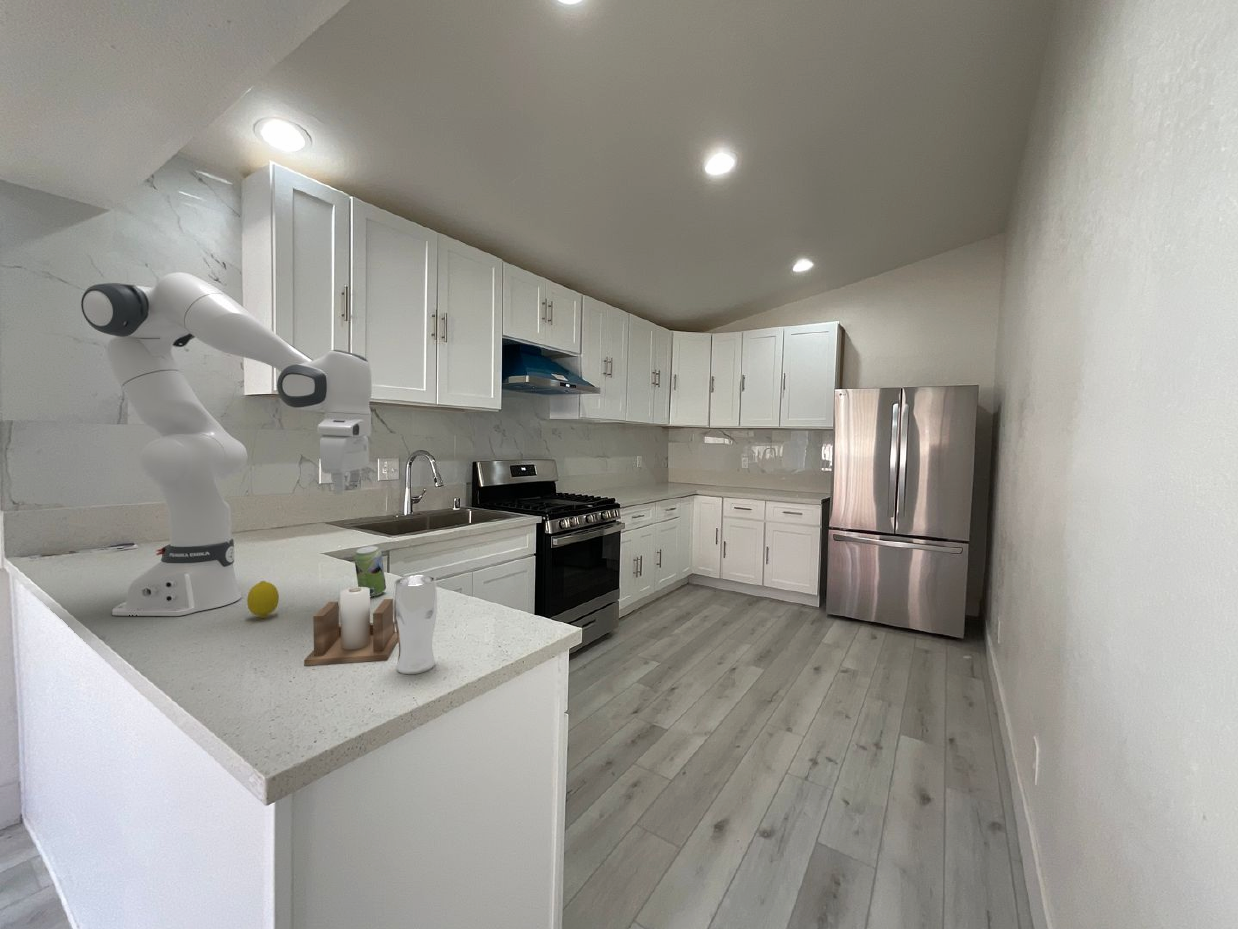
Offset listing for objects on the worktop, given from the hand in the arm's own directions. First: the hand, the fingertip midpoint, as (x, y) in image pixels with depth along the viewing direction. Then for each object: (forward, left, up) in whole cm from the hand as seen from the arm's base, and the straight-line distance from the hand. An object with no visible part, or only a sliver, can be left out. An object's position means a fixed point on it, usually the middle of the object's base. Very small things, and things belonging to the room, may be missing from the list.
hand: (346, 491), depth 112 cm
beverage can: (+1, +14, -27) cm, 31 cm away
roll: (+7, -20, -26) cm, 34 cm away
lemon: (-17, +1, -27) cm, 32 cm away
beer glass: (+19, -29, -27) cm, 44 cm away
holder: (+7, -20, -27) cm, 35 cm away
